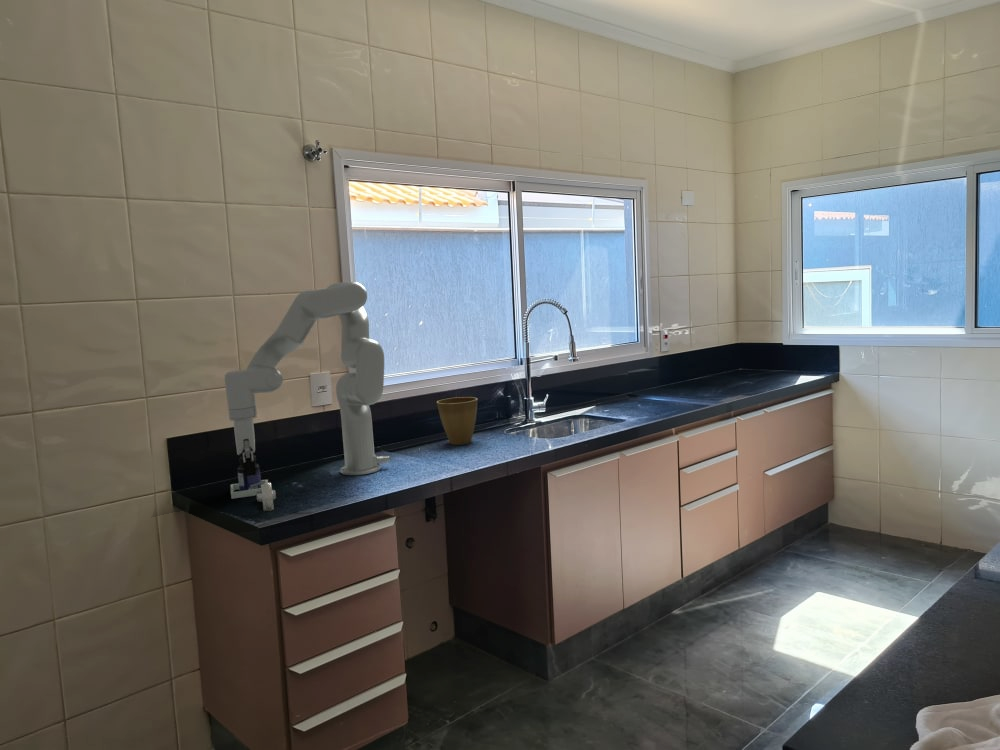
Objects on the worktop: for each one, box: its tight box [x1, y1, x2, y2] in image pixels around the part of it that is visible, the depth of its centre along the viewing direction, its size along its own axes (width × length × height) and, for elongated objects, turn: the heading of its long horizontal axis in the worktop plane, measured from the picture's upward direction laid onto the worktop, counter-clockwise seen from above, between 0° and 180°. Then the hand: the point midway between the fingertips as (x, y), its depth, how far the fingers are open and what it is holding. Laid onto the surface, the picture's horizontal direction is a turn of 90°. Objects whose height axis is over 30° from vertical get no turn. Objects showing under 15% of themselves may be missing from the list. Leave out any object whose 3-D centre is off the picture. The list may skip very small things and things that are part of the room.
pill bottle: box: [236, 455, 262, 491], centre depth 217 cm, size 6×6×11 cm
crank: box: [256, 481, 277, 512], centre depth 203 cm, size 15×5×7 cm, turn 20°
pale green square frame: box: [230, 479, 269, 500], centre depth 217 cm, size 10×10×3 cm
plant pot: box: [436, 396, 478, 446], centre depth 273 cm, size 15×15×16 cm
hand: (249, 471), depth 217 cm, fingers open, 9 cm apart
